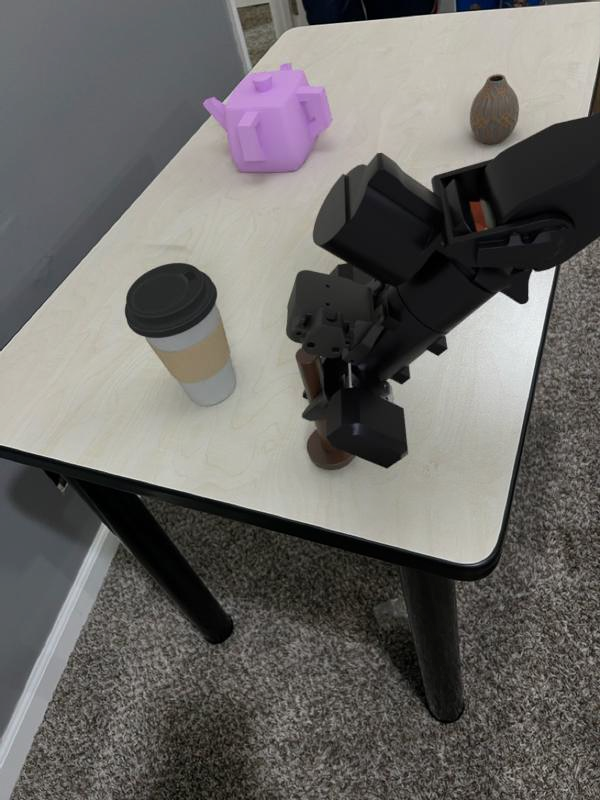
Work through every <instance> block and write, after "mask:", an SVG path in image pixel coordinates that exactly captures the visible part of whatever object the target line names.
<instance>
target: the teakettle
mask: <svg viewBox="0 0 600 800" xmlns="http://www.w3.org/2000/svg"><path fill="white" fill-rule="evenodd" d="M225 103H226V104H225ZM225 103H223V102H222V101H220V100H218V99H217V98H216V97H215V96H212V97H209V98H207V99H205V100H204V101H203V103H202V105H203V107H204V108H205V109H206V110H207V112H208V113H209V114H210V115H211V116H212V117H213V118H214V121H216V122H217V124H219V125H220V127H221V128H222V129H223V130H224V131H225V133H226V139H227V144H228V147H229V153H230V157H231V160H232V162H233V164H234V165H235V167H236V169H237V170H238V171H239V172H241V173H291V172H295V171H298V170H299V169H300V168H301V167H302V166H303V164H305V162H306V160H307V159H308V157H309V156H310V155H311V153H312V151H313V149H314V147H315V145H316V141H317V139H318V136H319V134H321V133H323V131H325V130H327V129H328V128H330V126H331V124H332V122H333V120H334V119H333V115H332V112H331V107H330V103H329V100H328V95H327V91H326V88H325V85H324V86H323V85H321V86H317V85H315V86H314V85H313V86H310V83H309V80H308V78H307V76H306V74H305V72H304V70H302V69H293V66H292V62H283V63H282V64H280V65H279V70H270V71H268V70H267V71H259V72H257V71H256V72H250V73H249V74H247V75H246V76H245V77H244V78H243V79H242V80H241V81H240V82H239V84H238V85H237V86H236V87H235V89H234V90H233V92H232V93H231V94H230V96H229V98H228V99H227V101H226V102H225Z"/></svg>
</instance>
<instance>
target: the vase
mask: <svg viewBox="0 0 600 800" xmlns="http://www.w3.org/2000/svg"><path fill="white" fill-rule="evenodd" d="M519 114H520V104H519V99H518V96H517V94H516V92H515V90H514V88H512V86H511V85H510V84H509V83H508V81H507V79H506V76H505V75H504V74H501V73H496V74H492V75H489V77H487V79H486V81H485V83H484V85H483V86H482V87H481V89H480V90H479V91H478V92H477V93H476V95H475V96H474V99H473V101H472V104H471V107H470V110H469V125H470V129H471V133H472V134H473V136H474V137H475V138H476V139H477V140H479V141H480V142H481V143H482V144H487V145H494V144H499V143H502V142H503V141H505V140H506V139H507V138H509V137H510V136H511V135H512V134H513V132H514V131H515V129H516V127H517V124H518V121H519V116H520V115H519Z"/></svg>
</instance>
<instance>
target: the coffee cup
mask: <svg viewBox="0 0 600 800" xmlns="http://www.w3.org/2000/svg"><path fill="white" fill-rule="evenodd" d="M125 297H126V298H125V302H126V303H125V306H124V317H125V319H126V323H127V325H128V327H129V329H131V331H132V332H133V333H135V334H137V335H139V336H141V337H143V338H145V341H146V343H147V344H148V345H149V347H150V348H151V349H152V351H153V352H154V353H155V355H156V356H157V357H158V359H159V360H160V362H161V363H162V365H163V366H164V367H165V369H166V370H167V371H168V373H169V374H170V376H171V377H173V378H174V379H175V380H176V382H178V384H179V386H180V387H181V388H182V389H183V391H184V392H185V393H186V395H187V396H188V397H189V399H190V400H191V401H192V402H193V403H195V404H196V405H199V406H201V407H203V406H204V407H209V406H215V405H217V404H219V403H222V402H223V401H225V400H226V399H227V398H229V396H231V395H232V393H233V392H234V391H235V389H236V386H237V378H236V373H235V369H234V365H233V362H232V359H231V349H230V345H229V342H228V339H227V333H226V330H225V326H224V322H223V319H222V315H221V312H220V310H219V308H218V305H217V299H218V289H217V287H216V284H215V282H213V280H212V278H211V277H210V276H209V275H208V274H207V273H206V272H203V271H201V270H200V269H199V268H197V267H196V266H194V265H193V264H189V263H185V262H172V263H165V264H162V265H159V266H156V267H154V268H151V269H150V270H148V271H146V272H144V273H143V274H142V275H140V276H139V277H138V278H137V279H136V280H134V282H133V283H132V284H131V285H130V287H129V289H128V291H127V293H126V295H125Z"/></svg>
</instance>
